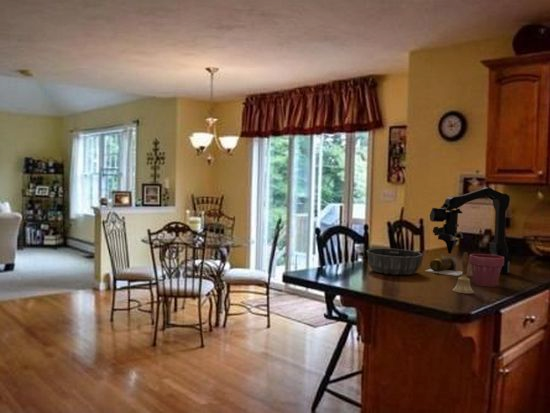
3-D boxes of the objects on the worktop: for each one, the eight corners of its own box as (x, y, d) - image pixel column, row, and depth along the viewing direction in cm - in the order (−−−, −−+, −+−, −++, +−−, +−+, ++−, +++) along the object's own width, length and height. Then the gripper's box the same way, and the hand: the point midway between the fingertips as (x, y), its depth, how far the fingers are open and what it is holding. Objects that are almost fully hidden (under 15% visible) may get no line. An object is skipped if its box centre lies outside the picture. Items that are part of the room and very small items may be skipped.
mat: (465, 273, 258) (465, 272, 258) (457, 276, 249) (457, 274, 249) (433, 269, 267) (433, 267, 267) (425, 271, 259) (425, 270, 259)
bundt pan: (423, 279, 238) (424, 257, 237) (364, 275, 243) (365, 253, 243) (419, 270, 264) (420, 250, 263) (366, 266, 269) (367, 247, 269)
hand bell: (469, 289, 217) (471, 251, 217) (477, 294, 209) (479, 254, 208) (449, 289, 217) (451, 250, 216) (456, 293, 209) (459, 253, 208)
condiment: (441, 255, 267) (428, 257, 259) (456, 257, 260) (444, 260, 252) (440, 269, 267) (427, 272, 259) (456, 272, 261) (443, 275, 253)
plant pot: (474, 280, 240) (476, 252, 239) (506, 284, 231) (508, 256, 231) (463, 284, 229) (464, 255, 228) (496, 289, 220) (498, 259, 219)
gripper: (442, 220, 273) (440, 250, 274) (428, 221, 259) (426, 253, 259) (463, 221, 266) (462, 252, 267) (451, 223, 252) (449, 255, 253)
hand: (449, 253), depth 262 cm, fingers closed
